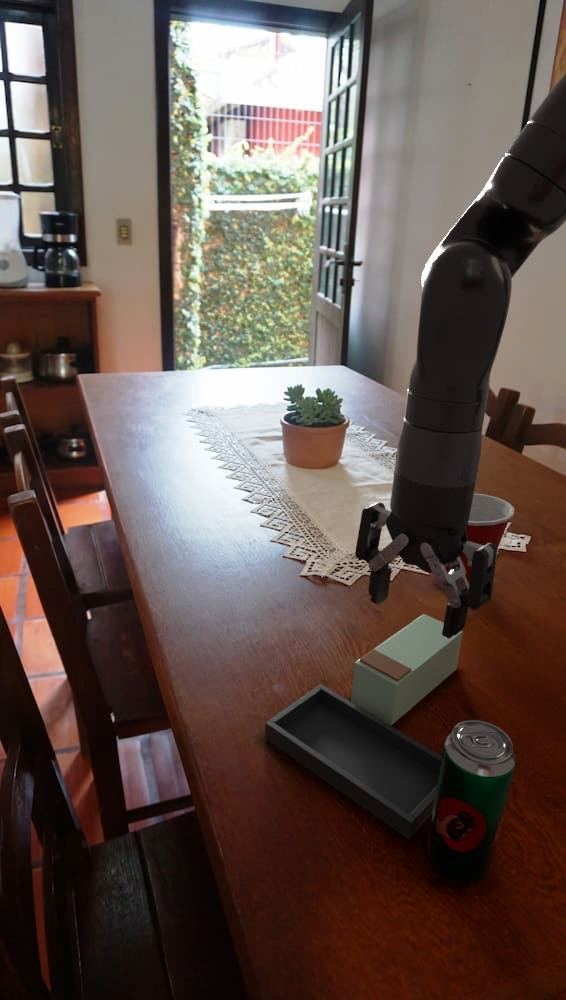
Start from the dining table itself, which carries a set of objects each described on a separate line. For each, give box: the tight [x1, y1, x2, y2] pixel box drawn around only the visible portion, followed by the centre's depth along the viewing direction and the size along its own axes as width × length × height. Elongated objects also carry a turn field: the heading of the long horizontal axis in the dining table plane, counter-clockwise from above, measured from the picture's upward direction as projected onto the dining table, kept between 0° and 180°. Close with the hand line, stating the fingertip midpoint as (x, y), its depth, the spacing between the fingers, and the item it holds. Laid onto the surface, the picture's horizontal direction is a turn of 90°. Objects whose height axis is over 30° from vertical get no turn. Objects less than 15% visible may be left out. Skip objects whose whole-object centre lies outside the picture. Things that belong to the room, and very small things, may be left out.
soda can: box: [426, 719, 517, 885], centre depth 51 cm, size 5×5×12 cm
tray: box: [264, 683, 442, 841], centre depth 62 cm, size 8×16×2 cm, turn 47°
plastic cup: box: [445, 493, 515, 583], centre depth 92 cm, size 11×11×12 cm
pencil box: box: [350, 613, 464, 726], centre depth 72 cm, size 13×5×5 cm, turn 137°
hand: (413, 616), depth 70 cm, fingers open, 8 cm apart
